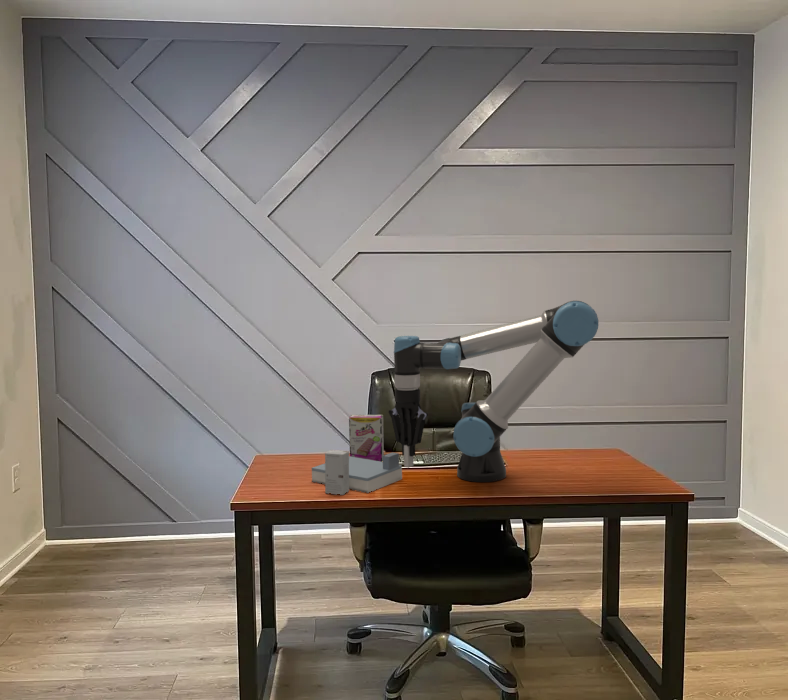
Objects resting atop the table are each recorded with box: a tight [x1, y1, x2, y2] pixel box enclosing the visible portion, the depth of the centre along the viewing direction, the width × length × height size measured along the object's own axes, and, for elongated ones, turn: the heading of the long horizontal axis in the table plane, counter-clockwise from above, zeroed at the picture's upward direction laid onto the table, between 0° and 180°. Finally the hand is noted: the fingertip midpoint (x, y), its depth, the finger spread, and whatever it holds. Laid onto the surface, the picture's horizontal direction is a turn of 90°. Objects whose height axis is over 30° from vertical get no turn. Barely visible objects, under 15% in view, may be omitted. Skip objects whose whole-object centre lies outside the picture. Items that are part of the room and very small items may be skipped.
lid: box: [311, 451, 403, 481], centre depth 214 cm, size 22×17×5 cm
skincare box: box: [324, 449, 350, 496], centre depth 202 cm, size 6×4×12 cm
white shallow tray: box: [311, 467, 403, 494], centre depth 215 cm, size 22×17×4 cm
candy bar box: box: [348, 414, 385, 462], centre depth 234 cm, size 11×5×16 cm, turn 84°
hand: (408, 466), depth 208 cm, fingers closed
